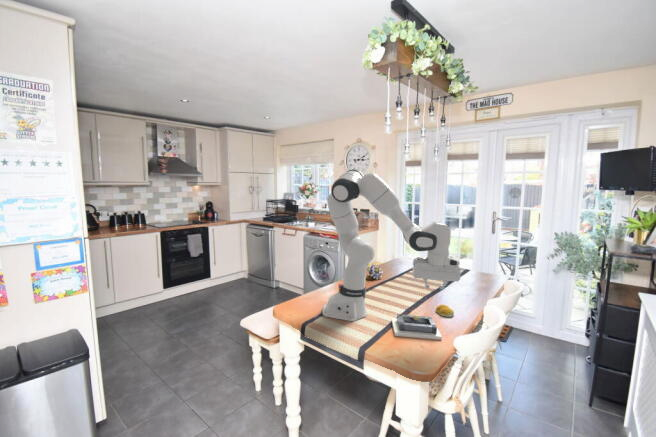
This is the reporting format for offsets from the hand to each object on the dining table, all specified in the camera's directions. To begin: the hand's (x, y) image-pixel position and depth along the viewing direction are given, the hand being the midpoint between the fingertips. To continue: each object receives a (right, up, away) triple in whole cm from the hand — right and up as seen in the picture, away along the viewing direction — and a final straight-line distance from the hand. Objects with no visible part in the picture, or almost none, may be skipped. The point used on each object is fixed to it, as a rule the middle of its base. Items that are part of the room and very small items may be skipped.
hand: (434, 288), depth 135 cm
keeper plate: (-8, -20, +3) cm, 21 cm away
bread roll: (+13, -18, +22) cm, 32 cm away
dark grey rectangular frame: (-7, -18, +3) cm, 20 cm away
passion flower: (-16, -10, +73) cm, 75 cm away
